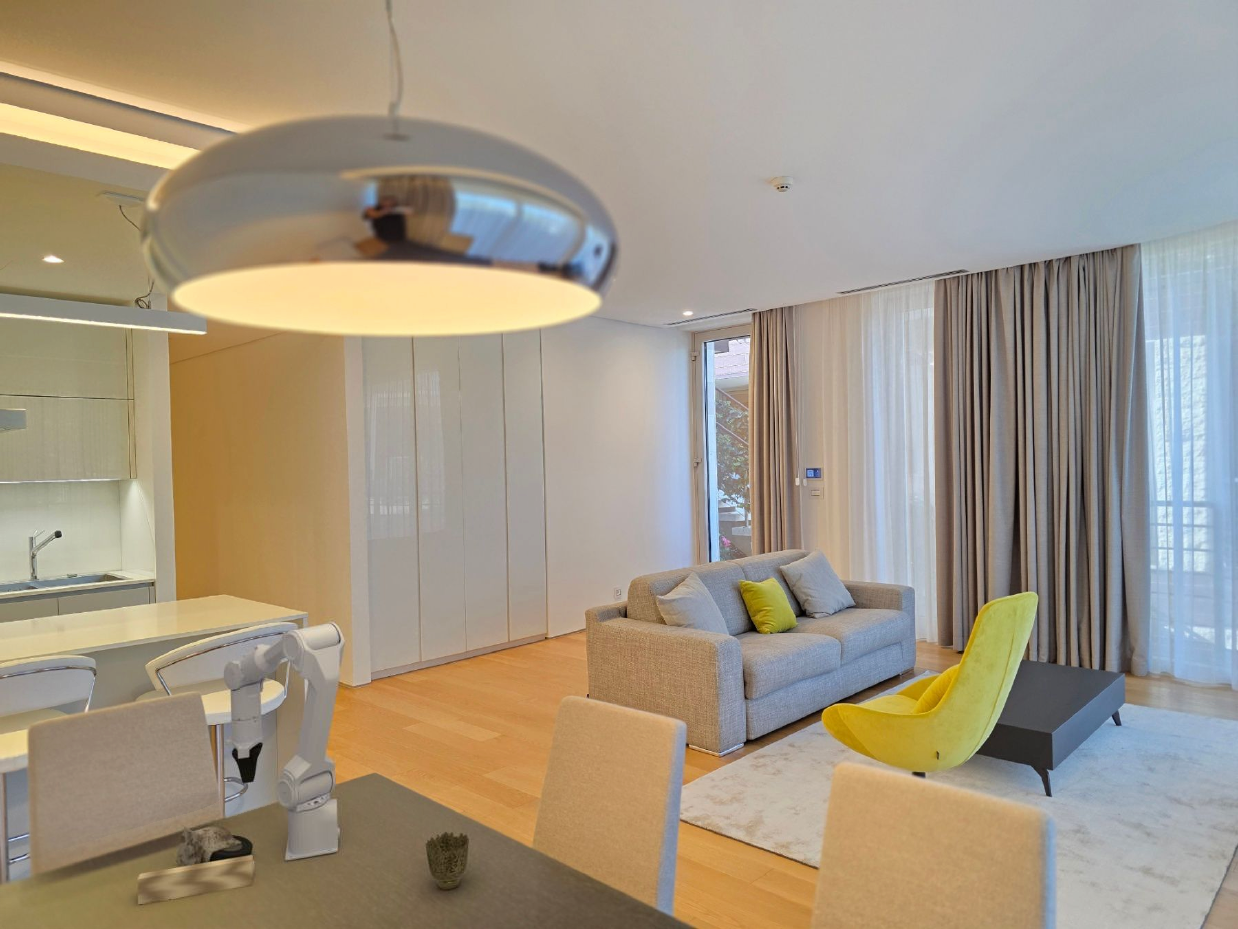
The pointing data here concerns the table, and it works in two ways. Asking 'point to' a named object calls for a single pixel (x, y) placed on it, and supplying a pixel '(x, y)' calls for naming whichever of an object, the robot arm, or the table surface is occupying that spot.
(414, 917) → the table surface
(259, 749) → the robot arm
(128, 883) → the table surface
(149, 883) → the bar
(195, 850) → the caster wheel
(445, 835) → the cup
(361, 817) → the table surface
